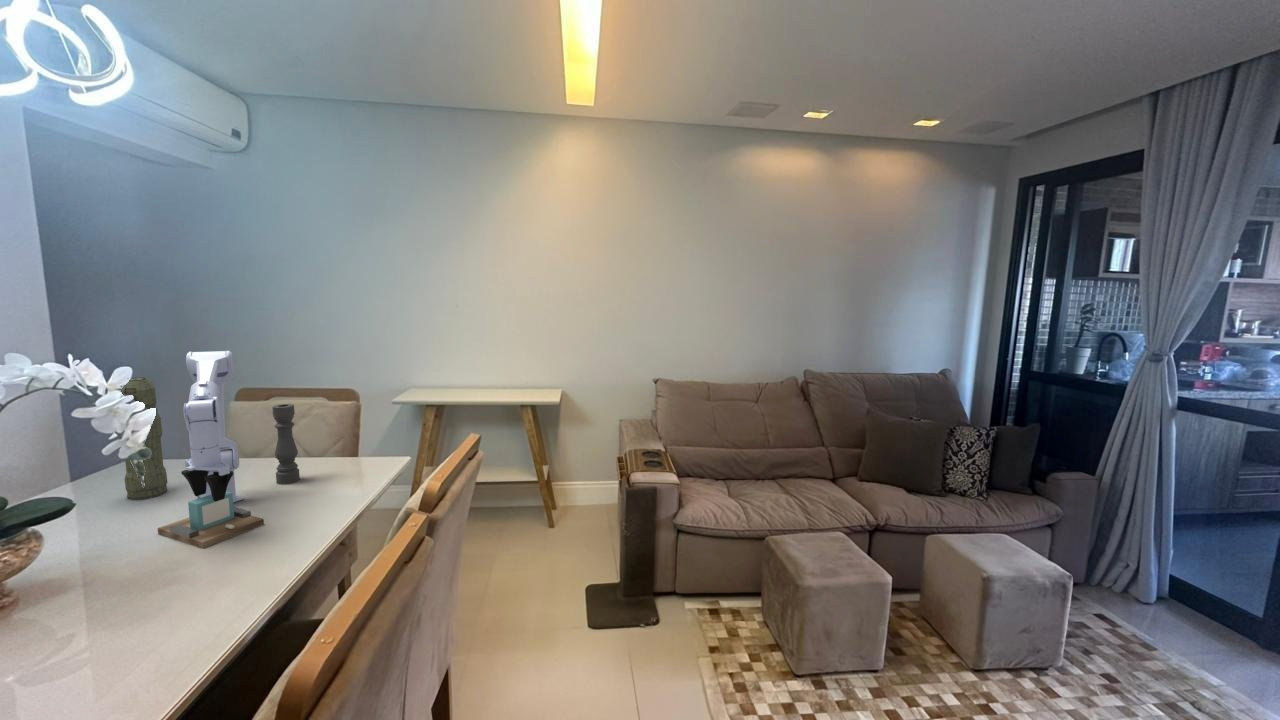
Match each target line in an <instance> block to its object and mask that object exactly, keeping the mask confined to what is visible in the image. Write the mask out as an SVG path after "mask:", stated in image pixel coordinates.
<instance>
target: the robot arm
mask: <svg viewBox="0 0 1280 720" xmlns="http://www.w3.org/2000/svg"><path fill="white" fill-rule="evenodd" d="M185 364H186V370H187V372H188V375H189V377H190V379H192V382H194V383H193V384H192V385H190V386H191V387H190V390H189V397H188V402H184V404H183V419H184V422H185V425H186V431H187V432H188V438H189V439H188V440H189V450H190V458H188V459H184V467H185V468H186V469H184V470H182V471H181V472H180V473H181V475H183V477H184V478H185V480H187V482H188V484H189V486H190V487H191V491H192V493H193V495H194V497H195V498H196V499H199V498H202V497H205V496H208V495H211V494H212V498H213V500H214V501H219V500H222V499H224V498H225V494H226V491H227V492H231V493H232V496H233V504H234V503H237V502H240V501H242V500H244V497H243V496H239V495H236V494H237V492H236V482H235V481H236V480H235V470H237V469H239V467H240V451H239V446H238V444H237V442H236V441H234V440H232V439H230V438H227V437H226V419H225V417H226V416H225V400H224V399H225V397H224V396H225V395H224V389H225V387H226V386H225V385H226V383H227V382H229V381H231V380H233V376H234V358H233V352H232V351H230V350H220V351H219V350H218V351H188V352H187V354H186V358H185Z"/></svg>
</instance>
